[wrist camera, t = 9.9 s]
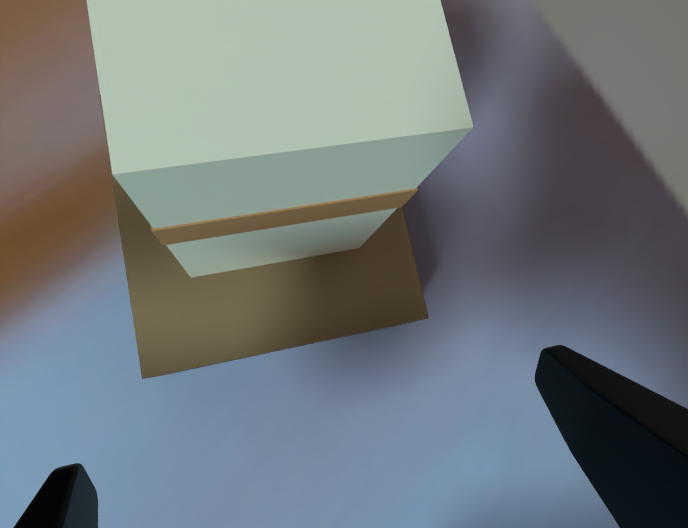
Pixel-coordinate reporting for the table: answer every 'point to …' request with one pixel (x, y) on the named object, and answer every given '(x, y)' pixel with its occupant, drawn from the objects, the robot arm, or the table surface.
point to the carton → (274, 119)
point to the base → (261, 296)
